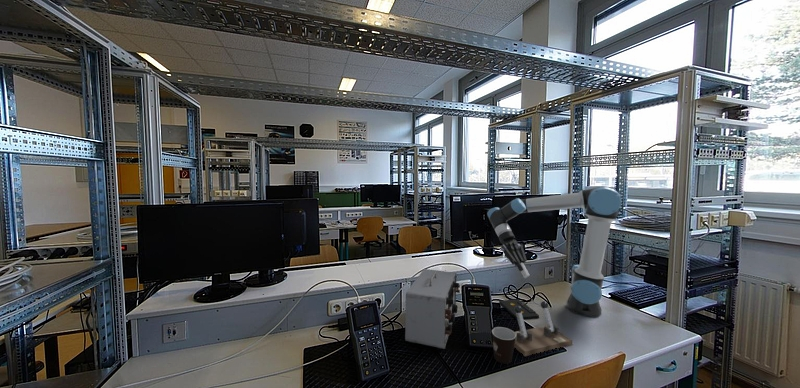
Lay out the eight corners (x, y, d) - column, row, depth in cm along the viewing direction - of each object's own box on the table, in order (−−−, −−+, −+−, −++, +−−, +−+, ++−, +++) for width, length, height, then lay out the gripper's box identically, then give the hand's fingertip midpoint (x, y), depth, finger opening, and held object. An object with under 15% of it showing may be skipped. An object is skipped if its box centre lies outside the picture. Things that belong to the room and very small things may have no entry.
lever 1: (525, 337, 118) (517, 305, 122) (530, 338, 115) (522, 305, 119) (519, 338, 117) (511, 306, 121) (524, 339, 114) (516, 306, 119)
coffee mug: (517, 367, 104) (518, 341, 103) (492, 364, 105) (493, 338, 104) (511, 347, 115) (512, 324, 114) (489, 345, 117) (489, 322, 116)
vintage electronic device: (449, 354, 111) (450, 292, 109) (405, 345, 117) (405, 286, 114) (459, 315, 141) (460, 266, 139) (424, 309, 146) (424, 262, 144)
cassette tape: (539, 319, 138) (539, 315, 138) (517, 321, 137) (517, 316, 136) (518, 302, 156) (518, 298, 156) (498, 303, 154) (499, 300, 154)
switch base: (548, 329, 128) (549, 318, 128) (572, 344, 117) (572, 333, 117) (504, 338, 121) (504, 327, 121) (524, 356, 110) (525, 344, 109)
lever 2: (552, 331, 122) (543, 300, 126) (557, 332, 120) (548, 300, 124) (546, 332, 121) (538, 301, 126) (551, 333, 119) (543, 301, 123)
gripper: (511, 237, 153) (533, 278, 138) (491, 238, 149) (511, 281, 134) (519, 229, 147) (542, 271, 133) (497, 231, 143) (519, 274, 129)
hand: (526, 276), depth 134 cm, fingers closed
